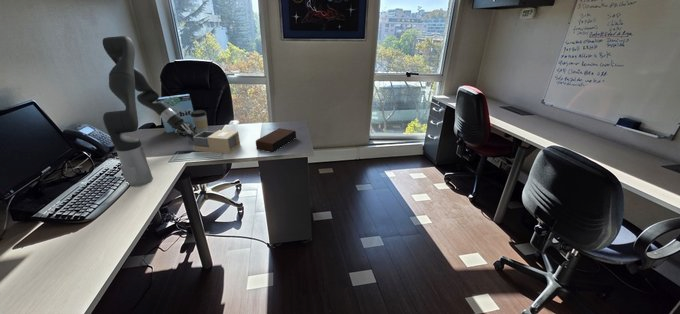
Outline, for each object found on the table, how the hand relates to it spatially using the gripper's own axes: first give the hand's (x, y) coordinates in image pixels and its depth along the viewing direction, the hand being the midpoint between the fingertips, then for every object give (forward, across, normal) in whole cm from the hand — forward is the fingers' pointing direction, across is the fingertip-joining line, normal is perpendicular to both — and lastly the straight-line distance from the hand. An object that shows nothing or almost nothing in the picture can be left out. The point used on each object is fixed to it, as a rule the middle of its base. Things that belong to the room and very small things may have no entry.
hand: (195, 139), depth 163 cm
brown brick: (+36, +13, -28) cm, 47 cm away
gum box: (-17, +24, +24) cm, 38 cm away
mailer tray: (+11, 0, -6) cm, 13 cm away
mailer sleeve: (+13, 0, -6) cm, 14 cm away
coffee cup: (-3, +19, +10) cm, 22 cm away
